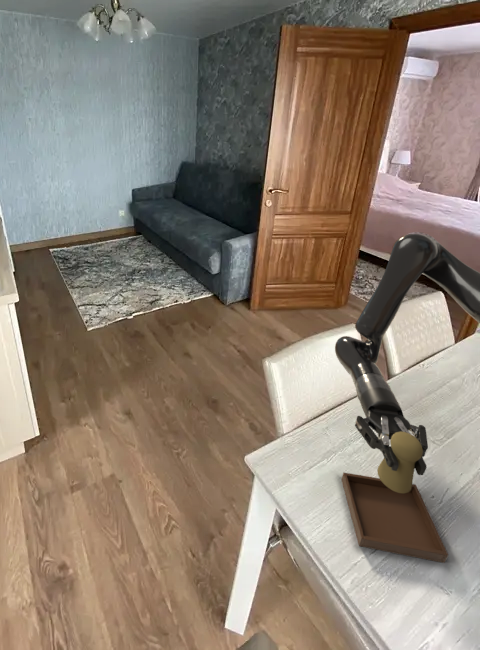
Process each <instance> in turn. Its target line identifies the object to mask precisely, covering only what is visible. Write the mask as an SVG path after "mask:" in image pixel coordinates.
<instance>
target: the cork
mask: <svg viewBox="0 0 480 650" xmlns="http://www.w3.org/2000/svg"><path fill="white" fill-rule="evenodd" d="M389 445H390V446H391V448H392V450H393V452H394V454H395V456H396V458H397V460H398V463H399V466H398V469H397V471H393V470H392V469H391V467H389V466H388V465H387V463H386V461H385V458H384V457H383V459H382V460H381V462H380V463H379V465H378V466H377V470H376V471H377V475H378V478H380V480H381V481H382V482H383V484H385V485H386V486H387V487H388V488H389V489H391V490H393V491H395V492H398V493H408V492H409V491H410V490H411V487H412V484H413V481H414V476H415V463H416V461H418V460H419V459H420V458H421V457H422V453H423V449H422V446H421V444H420V442H419V441H418V440H417V439H416V438H415V437H414V435H413V434H412V433H410V434H409V433H406V432H396V433H395V434H393V435H392V437H391V440H389ZM422 458H423V457H422Z"/></svg>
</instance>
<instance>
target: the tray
mask: <svg viewBox="0 0 480 650" xmlns="http://www.w3.org/2000/svg"><path fill="white" fill-rule="evenodd" d="M341 483H342V487H343V491H344V495H345V499H346V502H347V506H348V509H349V513H350V518H351V521H352V525H353V529H354V532H355V537H356V540H357V544H358V547H363V548H367V549H372V550H377V551H382V552H387V553H392V554H398V555H401V556H407V557H412V558H418V559H422V560H426V561H427V560H428V561H433V562H437V563H443V564H445V563H446V561H447V560H448V558H449V552H448V551H447V549H446V547H445V544H444V543H443V541H442V538H441V537H440V533H439V532H438V529H437V526H436V525H435V523H434V521H433V518H432V516H431V513H430V512H429V509H428V507H427V506H426V505H427V504H426V503H425V501H424V498H423V497H422V495H421V492H420V490H419V488H418V486H417V484H415V483H412V487H411V490H410V491H409V492H408V493H398V492H395V491H393V490H391V489H389V488H388V487H387V486H386V485H385V484H383V482H382V481H381V480H380V478H379V477H373V476H367V475H360V474H357V473H355V474H354V473H349V472H343V473H342V475H341Z"/></svg>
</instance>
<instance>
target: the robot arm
mask: <svg viewBox="0 0 480 650" xmlns="http://www.w3.org/2000/svg"><path fill="white" fill-rule="evenodd" d="M386 264H387V265H386V268H385V270H384V272H383V275H382V276H381V279H380V281H379V283H378V285H377V287H376V288H375V290H374V291H373V293H372V295H371V297H370V298H369V299H368V301H367V302H366V305H364V308H363V310H362V312H361V313H360V314H359V317H358V319H357V320H356V322H355V325H354V329H355V331H356V332H357V333H358V334H359V335H361V336H362V337H364V338H365V341H364V340H360V339H357V338H355V337H353V336H352V337H351V336H349V335H344V336H341V337H339V338H338V339H337V340H336V342H335V344H334V353H335V356H336V358H337V360H338V362H339V363H340V365H341V366H342V367H343V368H344V370H345V371H346V372H347V373H348V375H349V376H350V377H351V379H352V382H353V384H354V388H355V391H356V392H355V393H356V395H357V399H358V401H359V403H360V406H361V409H362V411H363V413H364V416H365V417H363V416H361V415H356V420H355V423H354V427H355V428H356V429H357V431H358V432H359V434H360V435H361V436H362V438H363V439H364V441H365V442H366V443H367V445H368V446H369V447H370V448H371V449H373V450H376V449H377V450H379V451H380V452H381V453H382V456H383V459H384V458H385V461H386V463H387V465H388V466H389V467H391V469H392V470H393V471H397V469H398V466H399V463H398V460H397V458H396V456H395V454H394V452H393V450H392V448H391V445H390V440H391V437H392V435H393V434H395V433H396V432H406V433H409V434H411V435H413V436H414V437H415V438H416V439H417V440H418V441H419V442H420V444H421V446H422V449H423V453H422V457H421V458H420V459H419V460H418V461H416V463H415V469H414V471H415V472H416V474H417V475H418V476H424V474H425V473H426V470H427V464H426V462H425V460H424V457H425V456H426V453H427V450H428V449H429V444H428V436H427V435H428V434H427V428H426V426H424V425H422V424H419V425H418V426H416V425H413V424H411V423H410V421H409V420H408V419H407V418H406V417H405V415H404V413H403V410H402V407H401V405H400V404H399V401H398V400H397V398H396V396H395V393H394V392H393V390H392V388H391V385H390V384H389V383H388V382H387V381H386V378H385V376H384V374H383V373H382V371H381V369H380V368H379V366H378V365H377V363H378V360H379V357H380V351H381V347H382V344H383V340H384V336H385V334H387V333H386V332H387V331H388V329H389V328H390V326H391V325H392V323H393V321H394V319H395V317H396V316H397V314H398V311H399V309H400V307H401V305H402V303H403V301H404V299H405V297H406V295H407V293H408V292H409V291H410V289H411V288H412V287H413V285H414V284H415V282H416V281H417V280H418V279H419V278H420V277H421V275H424V276H426V277H427V278H428V279H430V280H432V281H433V282H435V284H437V285H439V287H441V288H442V289H443V290H444V291H445V292H447V294H448V295H449V296H450V297H451V298H452V299H453V300H454V301H455V302H456V304H458V305H459V306H460V307H461V309H463V310H464V312H465V313H467V314H468V315H469V316H470V317H471V318H472V319H473V320H474V321H476V322H477V323H479V324H480V272H479V271H478V270H476V269H474V268H473V267H471V266H469V265H468V264H466V263H465V262H463V261H462V260H460V259H459V258H458V257H457V256H455V255H454V254H453V253H452V252H450V251H449V250H448V249H447V248H446V247H444V246H443V245H442V243H440V242H439V241H438V240H437V239H436V238H434V236H432V235H430V234H428V233H425V232H420V231H414V232H413V231H412V232H409V233H407V234H404V235H402V236H400V237H399V238H397V239H396V240H395V241H394V243H393V245H392V248H391V252H390V255H389V259H388V262H387V263H386Z"/></svg>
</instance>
